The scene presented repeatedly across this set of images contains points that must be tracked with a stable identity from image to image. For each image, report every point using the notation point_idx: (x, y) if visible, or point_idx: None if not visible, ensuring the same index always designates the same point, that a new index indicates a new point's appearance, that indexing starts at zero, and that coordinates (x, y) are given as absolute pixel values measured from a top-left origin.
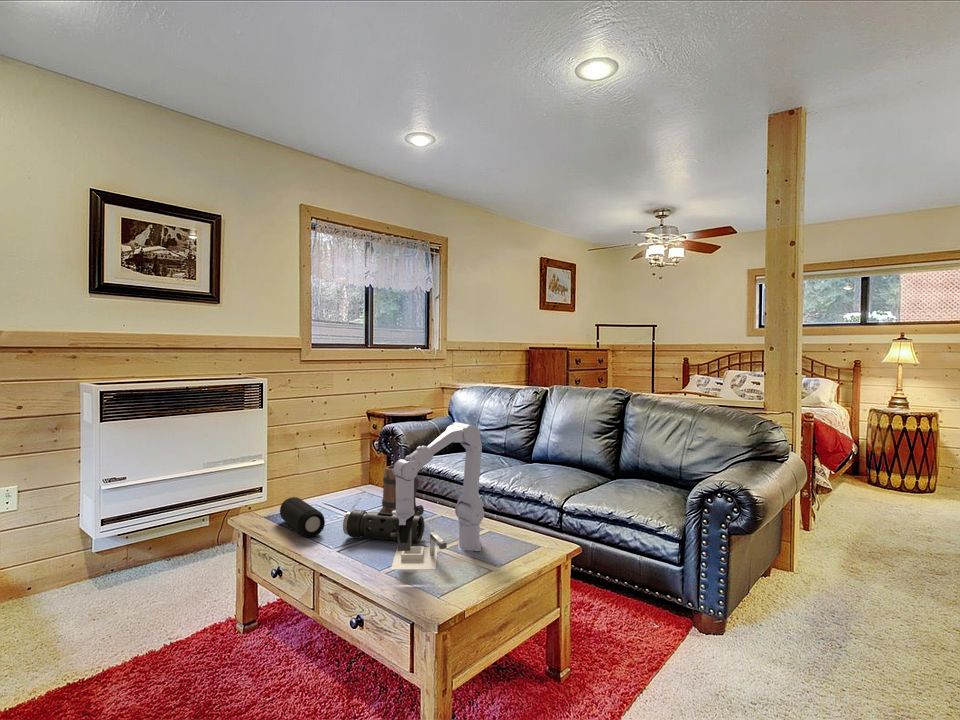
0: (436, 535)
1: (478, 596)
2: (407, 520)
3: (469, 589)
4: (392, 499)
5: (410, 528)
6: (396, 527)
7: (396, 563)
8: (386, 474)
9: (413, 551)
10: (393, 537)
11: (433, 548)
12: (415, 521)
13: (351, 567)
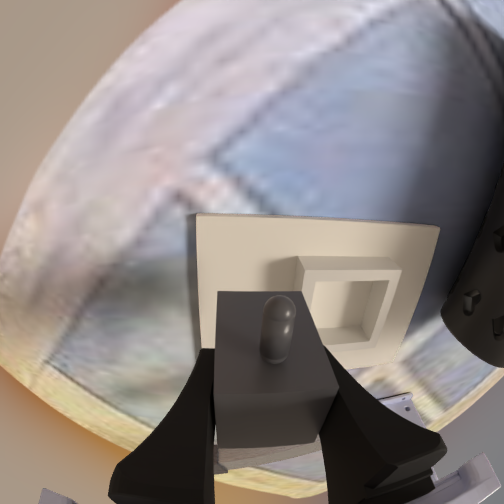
0: (305, 452)
1: (83, 421)
2: (339, 476)
3: (106, 417)
4: None
5: (301, 441)
6: (136, 448)
7: (267, 237)
8: None
9: (371, 302)
10: (487, 219)
11: None
12: (491, 352)
13: (260, 16)
